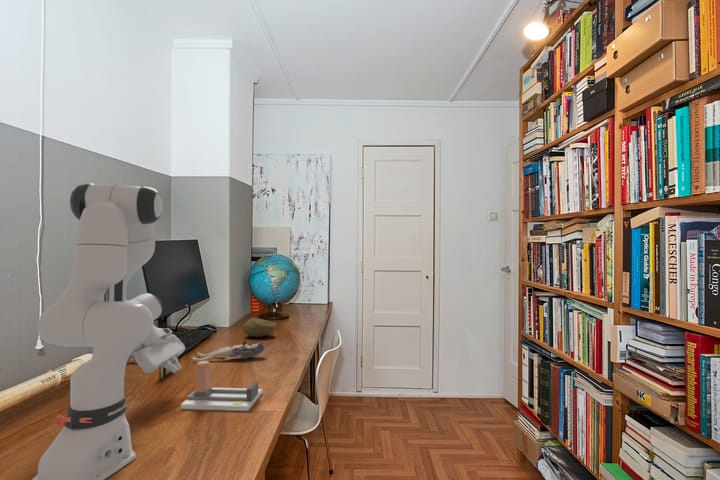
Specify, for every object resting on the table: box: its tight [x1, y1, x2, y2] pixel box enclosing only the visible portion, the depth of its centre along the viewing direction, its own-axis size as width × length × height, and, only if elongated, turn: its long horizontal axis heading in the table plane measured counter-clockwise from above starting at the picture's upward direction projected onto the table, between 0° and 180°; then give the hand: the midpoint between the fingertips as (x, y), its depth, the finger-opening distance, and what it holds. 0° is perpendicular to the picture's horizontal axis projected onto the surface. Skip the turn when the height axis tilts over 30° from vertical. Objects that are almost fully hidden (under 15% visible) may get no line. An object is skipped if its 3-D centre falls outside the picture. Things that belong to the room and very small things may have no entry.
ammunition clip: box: [158, 356, 180, 380], centre depth 156 cm, size 11×2×12 cm, turn 174°
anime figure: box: [192, 340, 265, 363], centre depth 176 cm, size 10×7×30 cm
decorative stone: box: [242, 317, 275, 338], centre depth 214 cm, size 17×11×10 cm, turn 83°
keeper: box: [194, 360, 213, 396], centre depth 131 cm, size 4×4×11 cm
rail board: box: [180, 380, 263, 412], centre depth 131 cm, size 14×22×6 cm, turn 86°
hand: (178, 370), depth 132 cm, fingers closed
